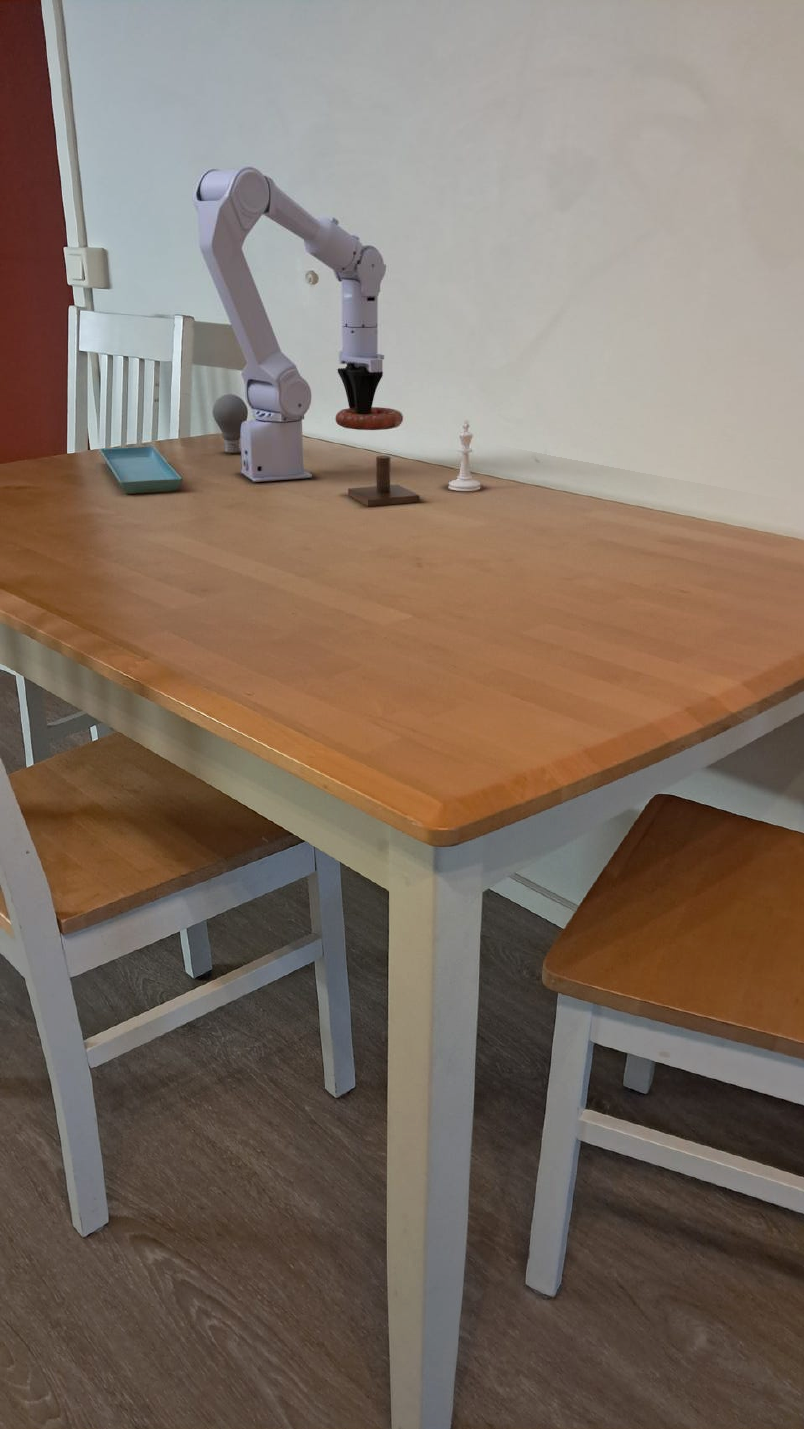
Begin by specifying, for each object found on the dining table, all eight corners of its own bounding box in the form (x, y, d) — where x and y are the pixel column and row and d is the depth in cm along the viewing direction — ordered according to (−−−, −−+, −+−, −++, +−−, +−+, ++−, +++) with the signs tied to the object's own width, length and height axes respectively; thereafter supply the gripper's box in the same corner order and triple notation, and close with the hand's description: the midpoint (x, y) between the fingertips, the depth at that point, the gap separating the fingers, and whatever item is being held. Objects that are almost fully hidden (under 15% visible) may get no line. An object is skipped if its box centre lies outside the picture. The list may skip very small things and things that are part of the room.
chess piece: (443, 489, 161) (445, 421, 157) (453, 483, 165) (455, 417, 161) (475, 492, 159) (477, 423, 155) (484, 486, 164) (487, 419, 160)
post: (367, 506, 150) (367, 463, 148) (347, 495, 157) (347, 453, 155) (419, 502, 153) (420, 459, 151) (397, 490, 160) (398, 450, 158)
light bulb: (221, 449, 190) (217, 391, 186) (253, 450, 190) (250, 392, 186) (211, 455, 185) (207, 396, 181) (244, 456, 184) (241, 397, 180)
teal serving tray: (183, 492, 158) (182, 475, 157) (121, 496, 155) (119, 479, 154) (155, 460, 180) (154, 445, 179) (100, 463, 177) (98, 448, 176)
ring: (350, 432, 167) (350, 416, 166) (327, 422, 176) (326, 407, 175) (413, 429, 171) (413, 413, 170) (387, 419, 180) (387, 405, 179)
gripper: (400, 329, 167) (399, 418, 172) (366, 323, 179) (366, 406, 184) (358, 330, 164) (358, 420, 169) (326, 323, 176) (328, 408, 182)
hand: (360, 413), depth 177 cm, fingers closed on ring, 2 cm apart
